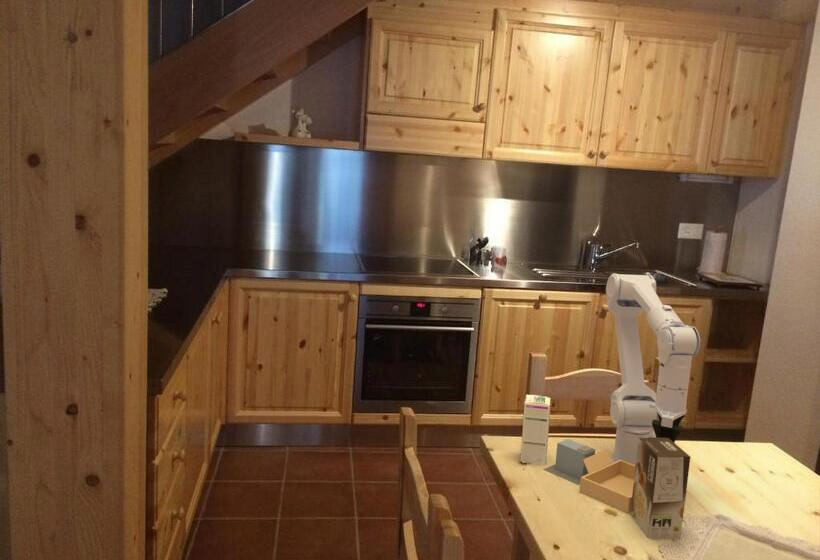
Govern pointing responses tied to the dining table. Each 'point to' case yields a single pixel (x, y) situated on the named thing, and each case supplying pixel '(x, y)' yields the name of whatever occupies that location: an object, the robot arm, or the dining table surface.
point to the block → (572, 458)
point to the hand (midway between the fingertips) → (665, 450)
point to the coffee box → (659, 487)
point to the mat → (562, 474)
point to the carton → (608, 481)
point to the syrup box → (535, 429)
